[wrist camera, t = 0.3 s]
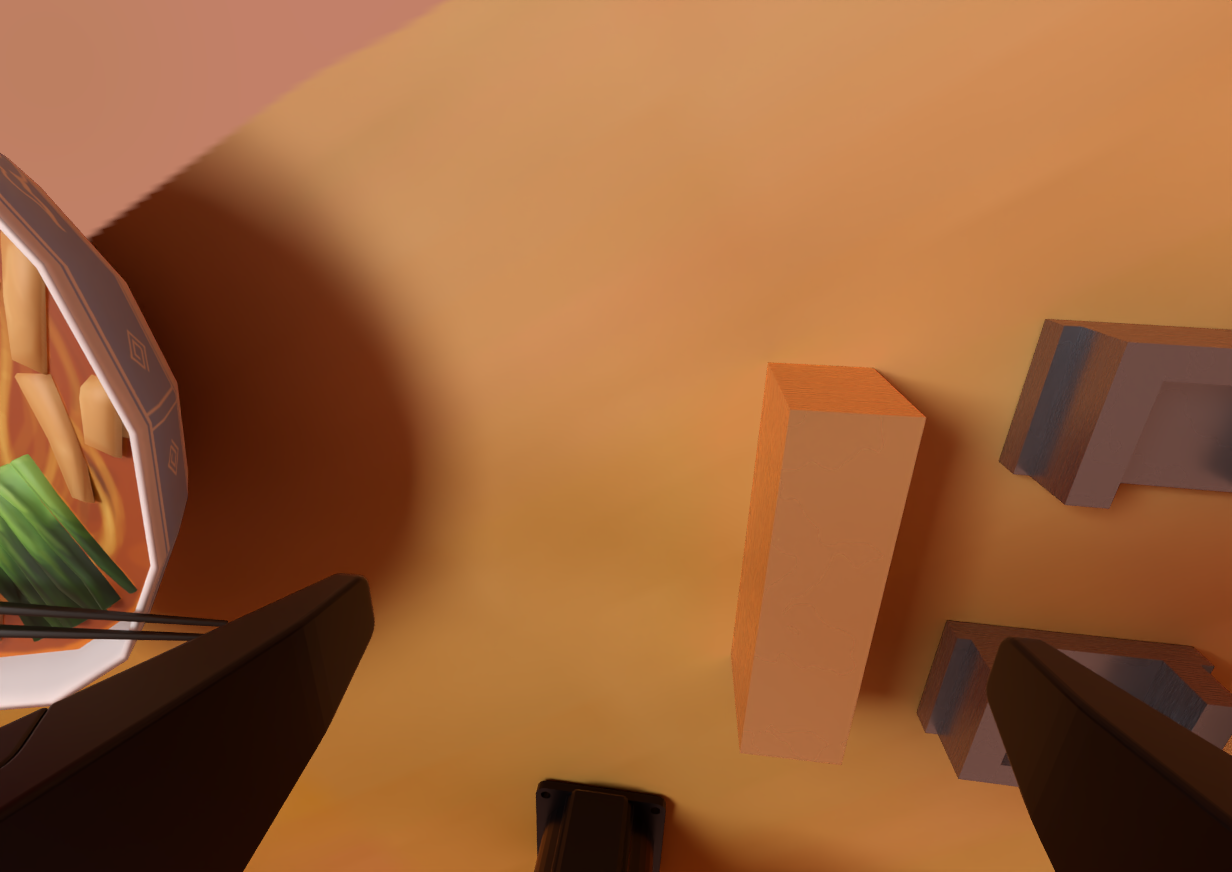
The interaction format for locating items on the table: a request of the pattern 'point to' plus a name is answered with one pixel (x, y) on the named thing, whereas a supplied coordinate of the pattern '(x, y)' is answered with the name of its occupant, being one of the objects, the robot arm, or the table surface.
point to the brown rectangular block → (817, 553)
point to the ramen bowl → (78, 458)
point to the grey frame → (1089, 476)
